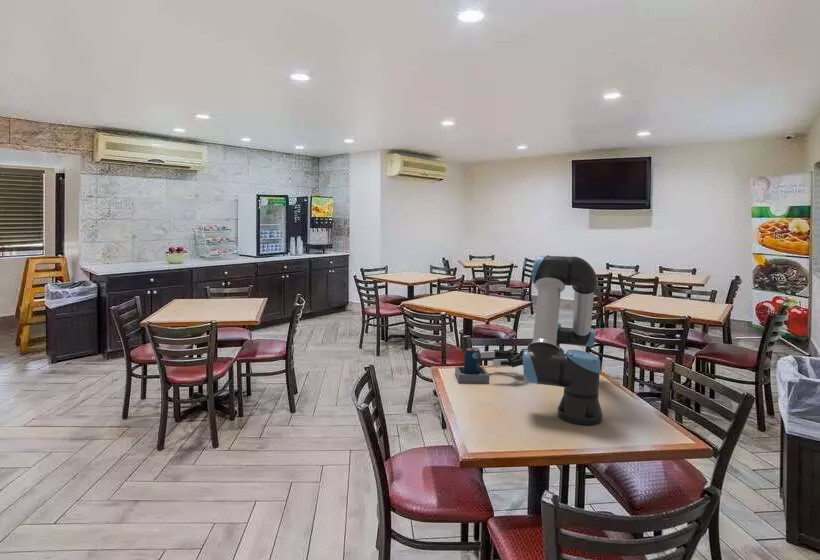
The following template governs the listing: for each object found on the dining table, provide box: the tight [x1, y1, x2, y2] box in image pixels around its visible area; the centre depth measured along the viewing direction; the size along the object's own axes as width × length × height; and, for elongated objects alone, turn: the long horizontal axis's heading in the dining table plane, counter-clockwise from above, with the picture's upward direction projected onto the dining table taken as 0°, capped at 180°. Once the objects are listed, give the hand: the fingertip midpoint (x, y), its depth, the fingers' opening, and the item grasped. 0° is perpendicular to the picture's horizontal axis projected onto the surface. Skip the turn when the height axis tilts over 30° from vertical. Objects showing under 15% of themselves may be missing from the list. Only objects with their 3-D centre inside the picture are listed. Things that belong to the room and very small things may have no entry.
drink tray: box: [454, 365, 490, 384], centre depth 220 cm, size 13×13×4 cm
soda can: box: [463, 347, 481, 374], centre depth 220 cm, size 7×7×12 cm
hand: (486, 358), depth 221 cm, fingers open, 13 cm apart
